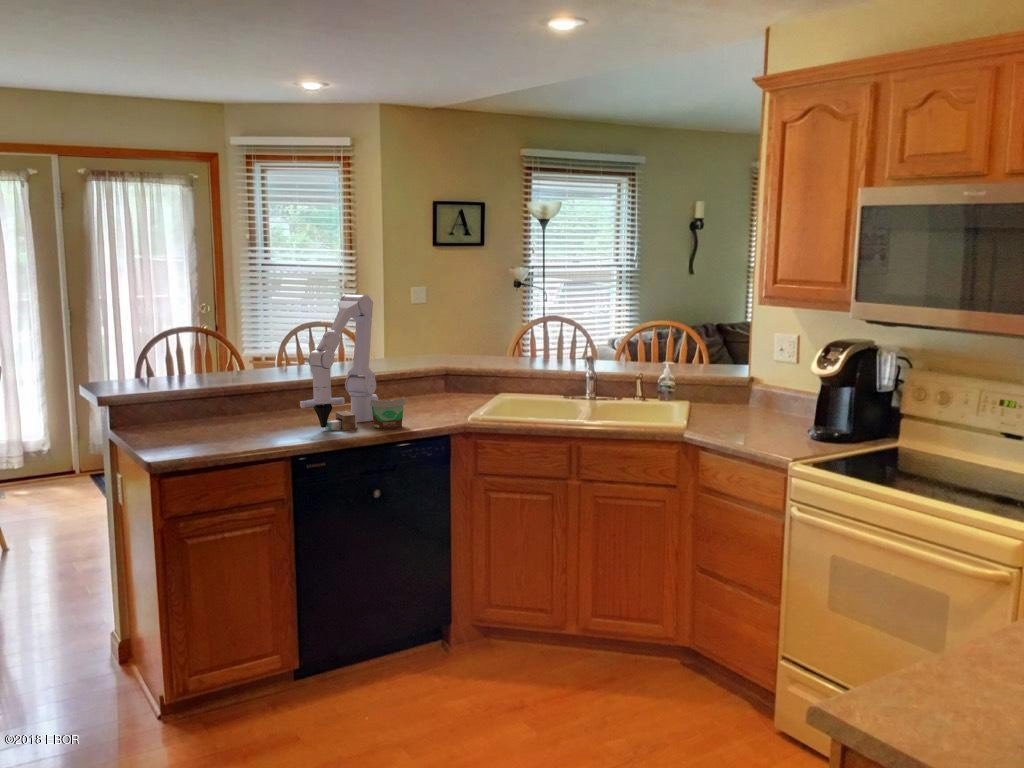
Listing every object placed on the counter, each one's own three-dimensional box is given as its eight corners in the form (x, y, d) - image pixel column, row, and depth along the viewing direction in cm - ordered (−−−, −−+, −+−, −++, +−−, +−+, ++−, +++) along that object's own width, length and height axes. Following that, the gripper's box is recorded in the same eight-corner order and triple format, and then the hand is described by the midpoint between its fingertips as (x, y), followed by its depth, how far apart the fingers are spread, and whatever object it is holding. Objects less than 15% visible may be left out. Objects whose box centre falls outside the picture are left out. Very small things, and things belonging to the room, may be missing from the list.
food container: (376, 432, 285) (375, 402, 283) (370, 429, 290) (369, 399, 289) (411, 428, 290) (410, 399, 289) (404, 425, 296) (404, 396, 294)
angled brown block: (347, 425, 296) (346, 410, 295) (355, 429, 289) (355, 414, 289) (336, 426, 294) (335, 412, 293) (344, 430, 287) (343, 416, 287)
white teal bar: (354, 426, 295) (353, 418, 294) (356, 427, 292) (356, 419, 292) (325, 429, 290) (325, 421, 289) (328, 431, 287) (327, 422, 287)
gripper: (304, 390, 279) (305, 431, 281) (347, 386, 286) (348, 426, 288) (297, 387, 285) (299, 427, 287) (340, 383, 292) (341, 423, 294)
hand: (323, 427), depth 288 cm, fingers closed
